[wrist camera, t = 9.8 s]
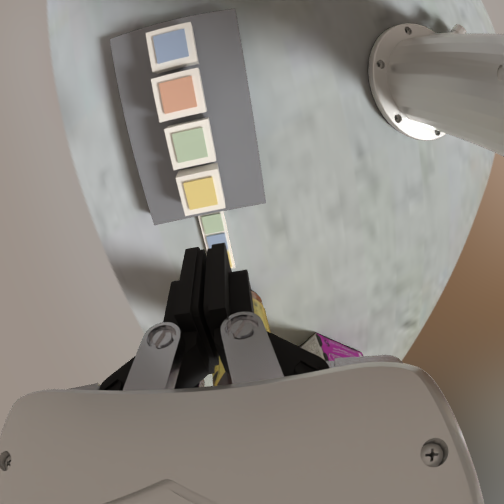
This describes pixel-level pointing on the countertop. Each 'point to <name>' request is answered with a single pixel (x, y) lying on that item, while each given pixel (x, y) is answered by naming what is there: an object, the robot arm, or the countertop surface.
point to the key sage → (190, 143)
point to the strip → (216, 232)
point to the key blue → (172, 48)
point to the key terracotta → (179, 94)
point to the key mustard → (200, 189)
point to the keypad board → (218, 110)
